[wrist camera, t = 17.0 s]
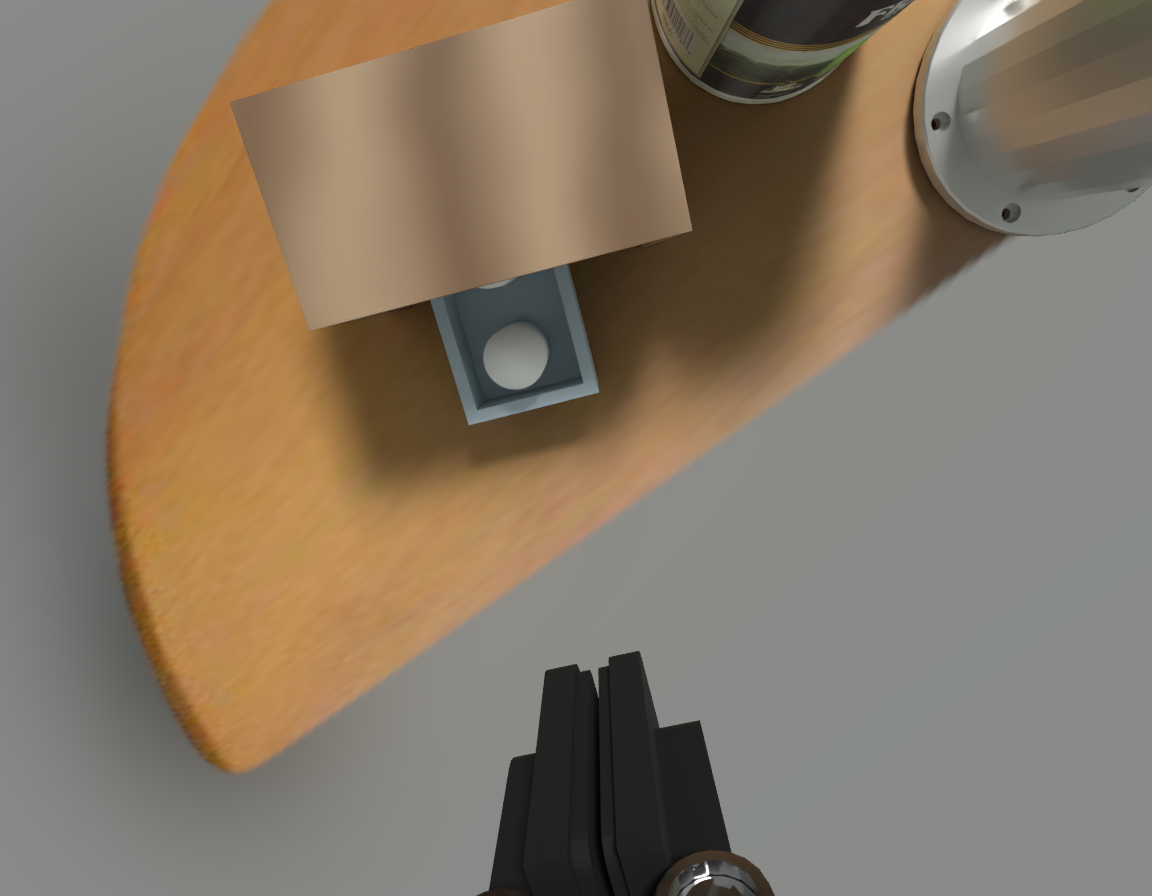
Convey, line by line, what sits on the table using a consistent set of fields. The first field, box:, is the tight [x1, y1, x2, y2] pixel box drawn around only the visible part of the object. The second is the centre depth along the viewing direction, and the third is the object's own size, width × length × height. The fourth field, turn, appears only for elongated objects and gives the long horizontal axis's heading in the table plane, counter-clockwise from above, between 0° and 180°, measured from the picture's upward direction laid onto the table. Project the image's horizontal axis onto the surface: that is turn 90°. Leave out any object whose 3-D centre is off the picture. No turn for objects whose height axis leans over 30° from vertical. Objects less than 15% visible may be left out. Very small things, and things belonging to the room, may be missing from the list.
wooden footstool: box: [230, 0, 693, 331], centre depth 28 cm, size 14×8×10 cm, turn 104°
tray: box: [430, 264, 599, 425], centre depth 32 cm, size 6×10×5 cm, turn 15°
